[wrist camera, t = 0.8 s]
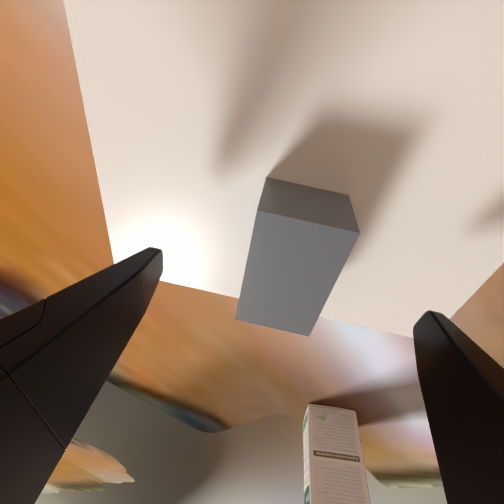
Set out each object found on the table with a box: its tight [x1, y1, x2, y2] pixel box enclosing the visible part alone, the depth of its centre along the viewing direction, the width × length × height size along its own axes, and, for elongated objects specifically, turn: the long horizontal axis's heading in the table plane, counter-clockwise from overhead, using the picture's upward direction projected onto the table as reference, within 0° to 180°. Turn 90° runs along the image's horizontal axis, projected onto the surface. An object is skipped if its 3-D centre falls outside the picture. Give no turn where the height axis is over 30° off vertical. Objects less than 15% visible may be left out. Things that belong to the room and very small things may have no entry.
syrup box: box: [303, 404, 370, 504], centre depth 29 cm, size 6×6×14 cm
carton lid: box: [64, 0, 504, 338], centre depth 8 cm, size 16×18×3 cm
